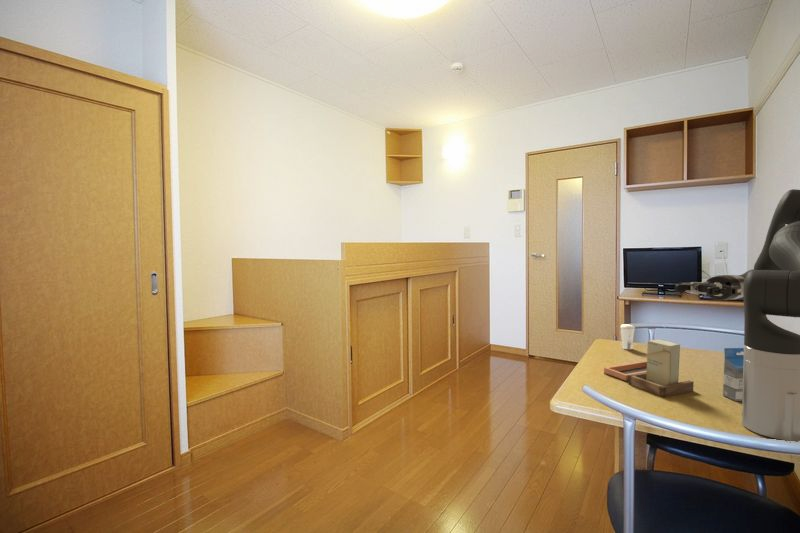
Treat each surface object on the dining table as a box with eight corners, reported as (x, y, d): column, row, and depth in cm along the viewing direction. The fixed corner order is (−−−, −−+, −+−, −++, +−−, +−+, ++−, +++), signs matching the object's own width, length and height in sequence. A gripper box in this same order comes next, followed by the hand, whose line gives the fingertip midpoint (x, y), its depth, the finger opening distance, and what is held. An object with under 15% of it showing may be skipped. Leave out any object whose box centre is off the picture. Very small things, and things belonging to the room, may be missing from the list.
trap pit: (671, 373, 112) (671, 367, 112) (625, 381, 107) (626, 375, 107) (647, 366, 120) (647, 360, 119) (604, 373, 114) (604, 367, 114)
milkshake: (638, 350, 137) (639, 323, 136) (622, 350, 138) (623, 323, 137) (633, 347, 141) (634, 320, 141) (618, 346, 142) (618, 320, 142)
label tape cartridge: (735, 402, 92) (736, 352, 91) (722, 395, 96) (723, 348, 95) (772, 401, 92) (774, 351, 91) (758, 395, 95) (759, 347, 95)
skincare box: (645, 383, 104) (646, 340, 103) (655, 381, 106) (656, 338, 105) (669, 391, 98) (670, 345, 98) (680, 388, 100) (680, 343, 99)
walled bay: (693, 391, 99) (693, 381, 99) (663, 397, 95) (663, 387, 95) (656, 378, 108) (656, 370, 108) (628, 383, 105) (628, 375, 105)
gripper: (701, 273, 121) (666, 275, 115) (756, 276, 107) (720, 278, 102) (701, 296, 121) (666, 299, 115) (755, 302, 108) (719, 306, 102)
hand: (691, 289), depth 109 cm, fingers open, 8 cm apart
